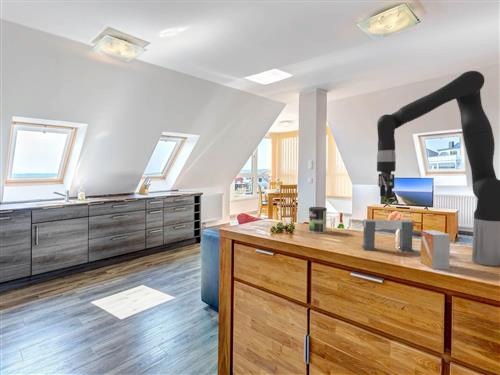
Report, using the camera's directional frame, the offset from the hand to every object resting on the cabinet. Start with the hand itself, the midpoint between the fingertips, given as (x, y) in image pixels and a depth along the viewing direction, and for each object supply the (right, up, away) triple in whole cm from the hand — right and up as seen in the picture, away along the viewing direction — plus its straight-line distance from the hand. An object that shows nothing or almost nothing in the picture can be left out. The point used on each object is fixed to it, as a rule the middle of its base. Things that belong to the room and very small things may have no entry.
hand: (385, 197), depth 132 cm
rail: (+2, -14, +3) cm, 15 cm away
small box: (+10, -26, -19) cm, 33 cm away
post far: (-5, -24, +5) cm, 25 cm away
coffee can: (-21, -22, +44) cm, 53 cm away
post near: (+10, -24, +3) cm, 27 cm away
